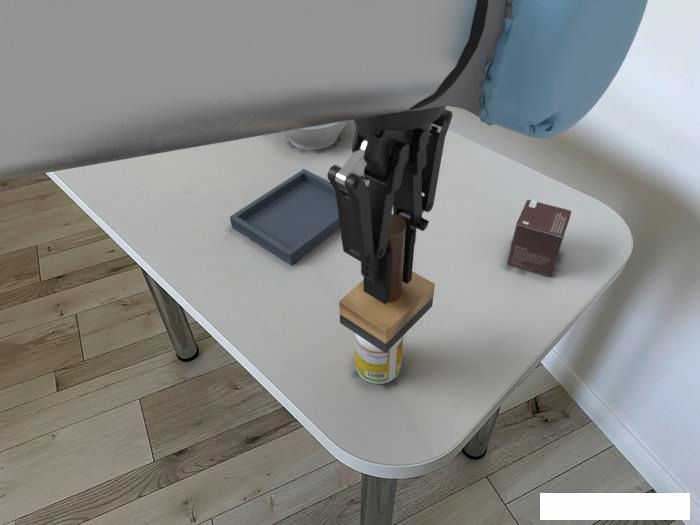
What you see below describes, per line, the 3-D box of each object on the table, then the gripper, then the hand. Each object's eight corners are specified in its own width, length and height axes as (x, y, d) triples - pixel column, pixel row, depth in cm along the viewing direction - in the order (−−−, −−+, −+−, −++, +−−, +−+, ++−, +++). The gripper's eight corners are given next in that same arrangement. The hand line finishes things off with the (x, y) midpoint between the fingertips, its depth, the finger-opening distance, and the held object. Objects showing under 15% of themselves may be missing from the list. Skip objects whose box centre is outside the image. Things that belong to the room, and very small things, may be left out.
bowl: (301, 105, 111) (298, 63, 105) (374, 127, 105) (374, 83, 99) (250, 145, 101) (243, 101, 95) (327, 172, 95) (324, 126, 89)
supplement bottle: (383, 340, 70) (386, 286, 63) (410, 371, 67) (415, 317, 60) (346, 360, 68) (344, 306, 61) (372, 393, 65) (373, 340, 58)
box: (549, 278, 77) (562, 238, 72) (505, 264, 79) (515, 224, 74) (559, 250, 81) (572, 210, 76) (517, 238, 83) (527, 197, 78)
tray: (291, 265, 80) (289, 254, 78) (231, 227, 86) (229, 216, 84) (363, 210, 88) (363, 199, 86) (304, 179, 94) (303, 168, 92)
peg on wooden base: (385, 353, 56) (389, 263, 48) (339, 323, 59) (335, 232, 50) (432, 306, 61) (444, 215, 52) (387, 280, 63) (391, 189, 55)
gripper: (420, 9, 46) (405, 228, 63) (279, 82, 38) (304, 313, 54) (502, 33, 43) (463, 259, 59) (367, 120, 34) (366, 355, 51)
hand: (387, 285), depth 57 cm, fingers closed on peg on wooden base, 3 cm apart
